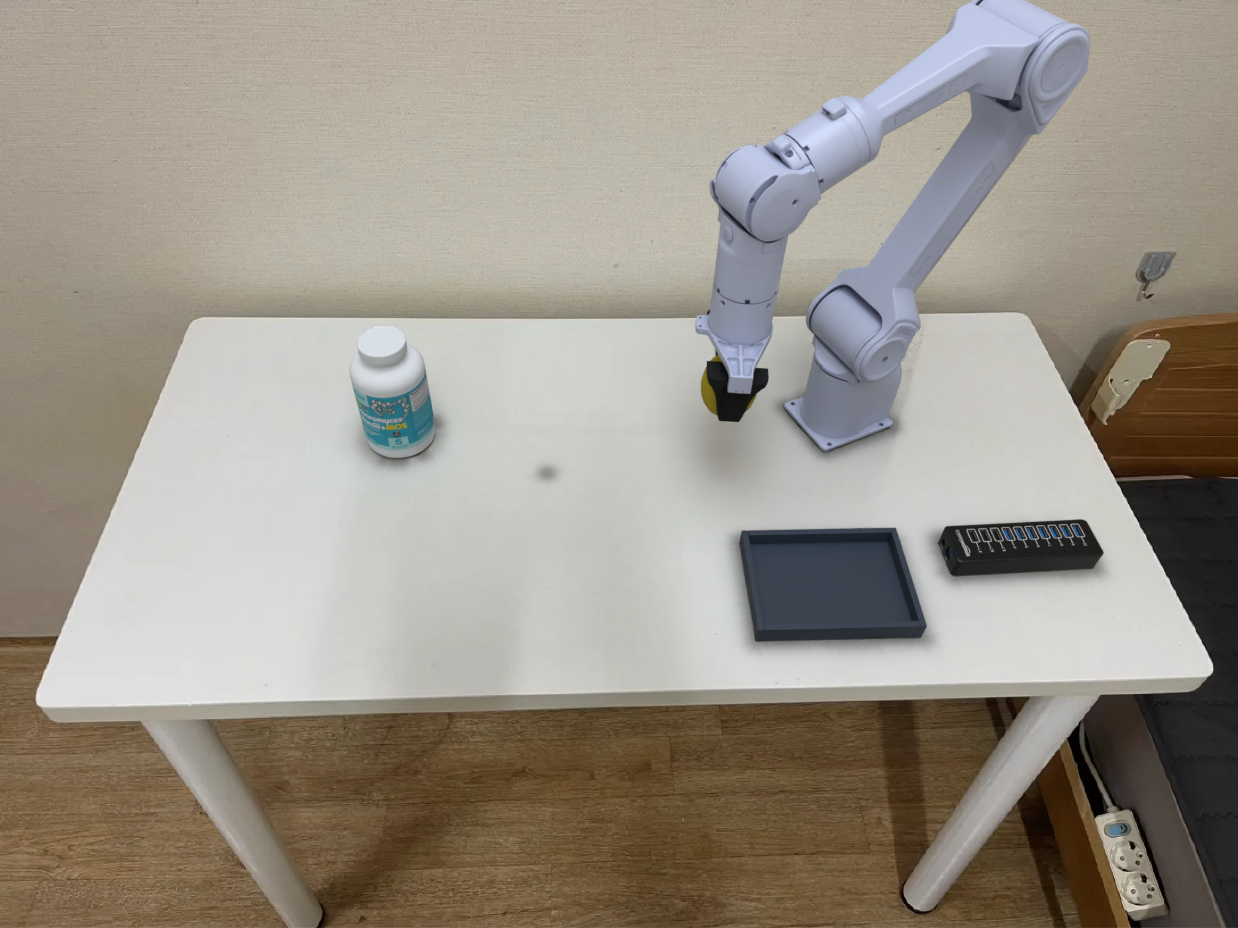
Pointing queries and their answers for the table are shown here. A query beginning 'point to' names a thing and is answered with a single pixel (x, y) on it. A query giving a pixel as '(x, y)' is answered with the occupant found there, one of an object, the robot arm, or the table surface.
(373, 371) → the pill bottle
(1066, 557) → the multiport hub
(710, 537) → the table surface
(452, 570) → the table surface
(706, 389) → the lemon
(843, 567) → the tray
